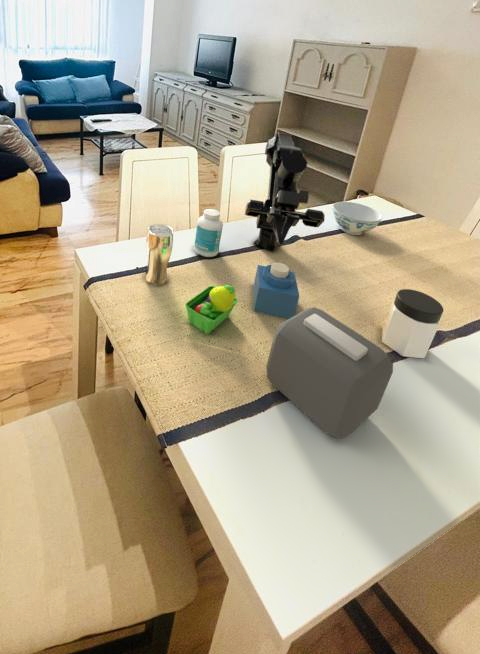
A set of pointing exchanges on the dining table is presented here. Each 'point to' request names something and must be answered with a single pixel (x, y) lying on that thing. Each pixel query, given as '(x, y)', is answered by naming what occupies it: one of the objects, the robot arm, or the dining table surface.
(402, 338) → the jar
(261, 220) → the robot arm
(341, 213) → the chinaware
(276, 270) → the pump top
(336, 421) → the alarm clock
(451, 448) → the dining table surface
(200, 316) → the fruit basket
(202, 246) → the pill bottle
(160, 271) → the beer glass
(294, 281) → the soap bottle
